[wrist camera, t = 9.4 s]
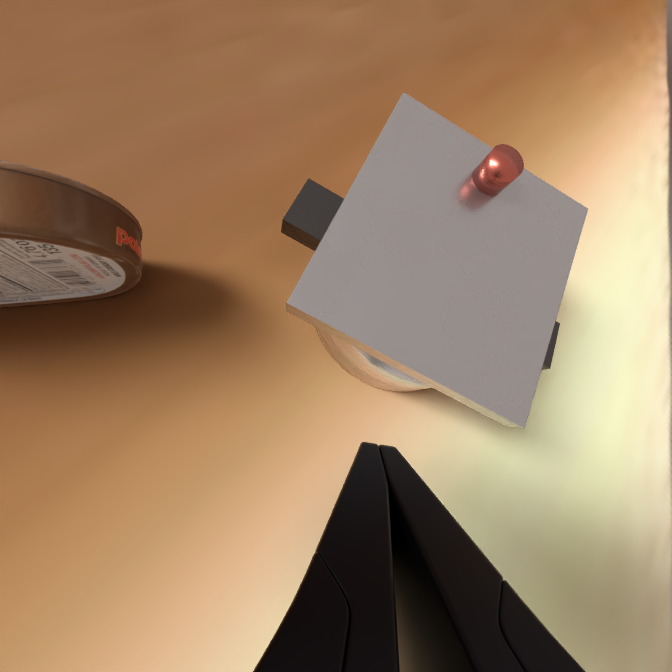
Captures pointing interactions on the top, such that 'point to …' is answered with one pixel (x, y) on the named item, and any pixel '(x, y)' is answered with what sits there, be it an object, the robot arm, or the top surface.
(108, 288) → the tin
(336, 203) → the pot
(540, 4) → the top surface
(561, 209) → the lid
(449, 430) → the top surface
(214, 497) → the top surface
